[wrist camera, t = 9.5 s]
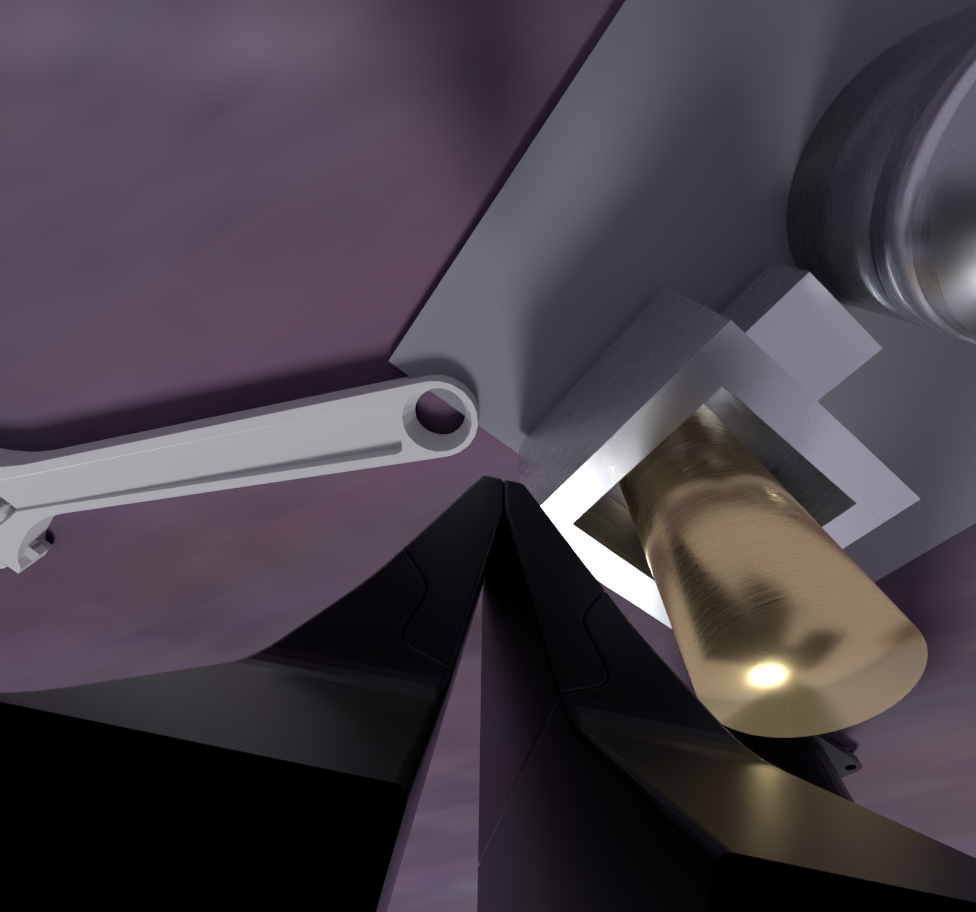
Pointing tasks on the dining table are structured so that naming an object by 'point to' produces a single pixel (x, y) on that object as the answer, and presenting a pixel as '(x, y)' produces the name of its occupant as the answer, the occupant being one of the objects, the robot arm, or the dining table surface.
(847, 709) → the brass rounded cylinder
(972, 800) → the dining table surface
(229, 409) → the dining table surface
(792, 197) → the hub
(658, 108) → the mat
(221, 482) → the adjustable wrench
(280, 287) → the dining table surface
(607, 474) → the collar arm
